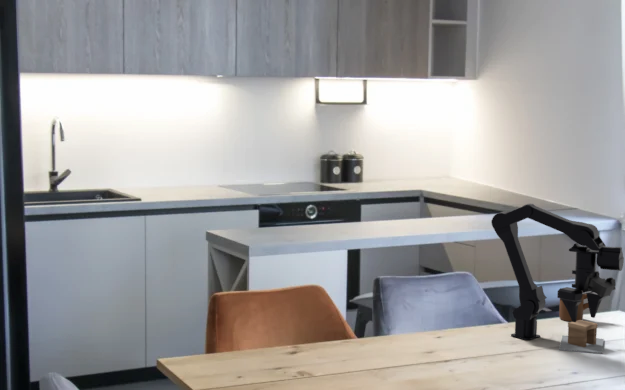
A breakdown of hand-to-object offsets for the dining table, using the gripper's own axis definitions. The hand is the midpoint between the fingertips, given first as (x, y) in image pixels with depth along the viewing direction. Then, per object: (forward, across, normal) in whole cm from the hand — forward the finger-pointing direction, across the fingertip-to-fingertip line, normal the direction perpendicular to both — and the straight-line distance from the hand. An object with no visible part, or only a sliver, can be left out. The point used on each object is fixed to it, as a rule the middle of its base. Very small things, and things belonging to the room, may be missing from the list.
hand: (583, 319), depth 273 cm
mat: (+8, 0, 0) cm, 8 cm away
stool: (+7, 0, 0) cm, 7 cm away
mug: (+8, +26, +20) cm, 34 cm away
